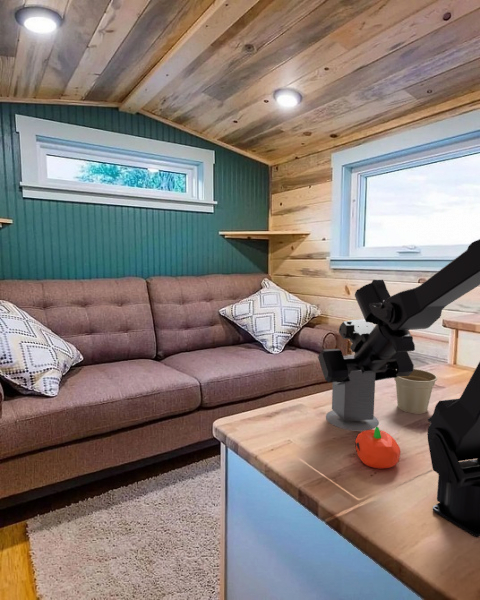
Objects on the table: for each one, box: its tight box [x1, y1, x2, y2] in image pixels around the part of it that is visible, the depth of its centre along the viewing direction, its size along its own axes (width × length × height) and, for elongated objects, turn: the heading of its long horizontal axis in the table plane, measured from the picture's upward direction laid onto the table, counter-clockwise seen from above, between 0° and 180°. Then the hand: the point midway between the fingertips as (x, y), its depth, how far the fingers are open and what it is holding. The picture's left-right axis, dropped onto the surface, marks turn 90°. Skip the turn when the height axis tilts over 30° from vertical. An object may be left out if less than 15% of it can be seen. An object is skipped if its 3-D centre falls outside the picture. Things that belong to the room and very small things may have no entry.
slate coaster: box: [325, 409, 380, 432], centre depth 86 cm, size 11×11×1 cm
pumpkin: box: [354, 426, 402, 470], centre depth 69 cm, size 7×8×6 cm
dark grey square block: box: [331, 354, 376, 421], centre depth 85 cm, size 6×6×12 cm
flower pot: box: [393, 368, 438, 415], centre depth 92 cm, size 9×9×9 cm
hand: (350, 381), depth 87 cm, fingers closed on dark grey square block, 6 cm apart
